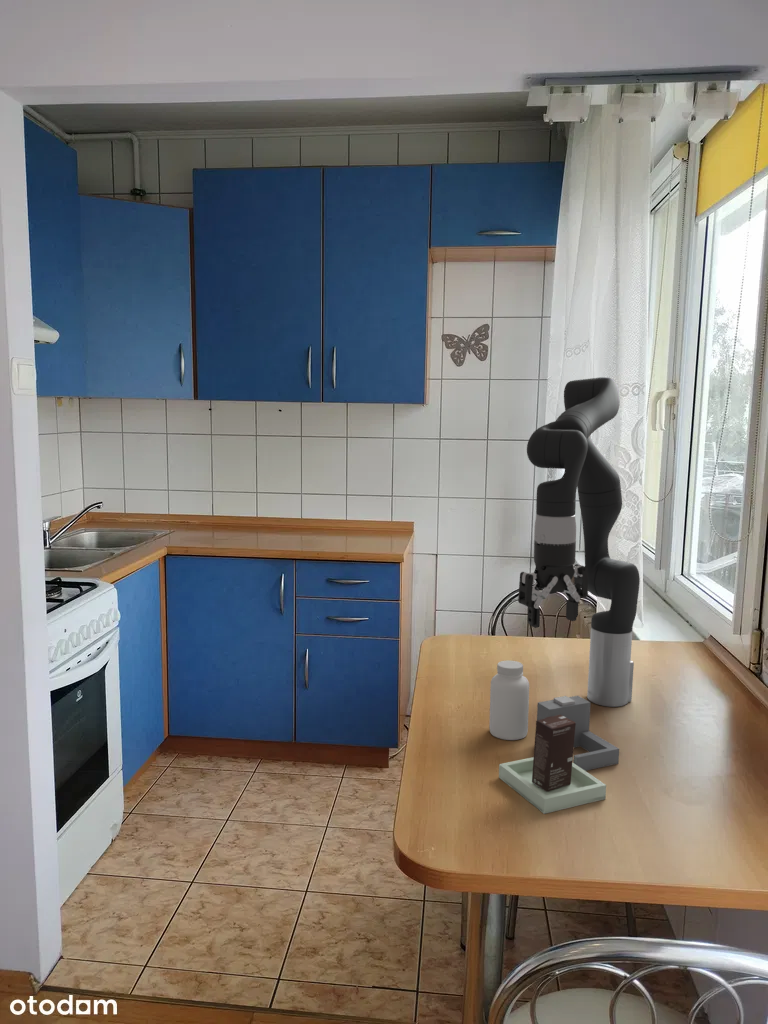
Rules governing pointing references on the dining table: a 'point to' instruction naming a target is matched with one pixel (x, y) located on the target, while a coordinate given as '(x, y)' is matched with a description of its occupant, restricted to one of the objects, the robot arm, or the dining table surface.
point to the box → (553, 752)
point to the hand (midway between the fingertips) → (552, 623)
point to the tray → (564, 797)
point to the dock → (581, 731)
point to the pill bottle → (509, 702)
